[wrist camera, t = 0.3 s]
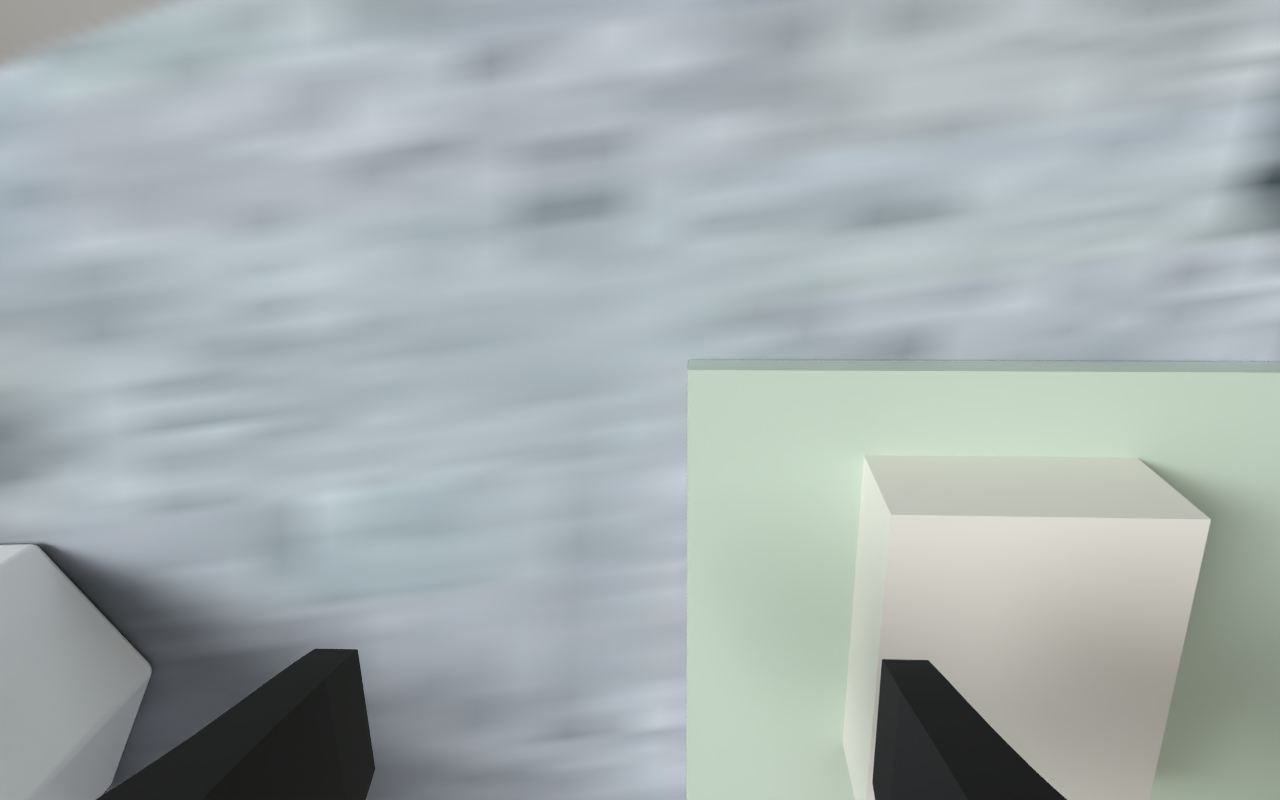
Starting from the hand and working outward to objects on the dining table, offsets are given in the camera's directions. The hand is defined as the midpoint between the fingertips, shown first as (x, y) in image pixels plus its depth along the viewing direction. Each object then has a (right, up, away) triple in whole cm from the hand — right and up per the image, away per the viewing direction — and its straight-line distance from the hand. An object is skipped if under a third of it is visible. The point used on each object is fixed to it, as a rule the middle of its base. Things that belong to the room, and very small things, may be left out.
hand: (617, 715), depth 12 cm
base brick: (+8, -1, +9) cm, 12 cm away
